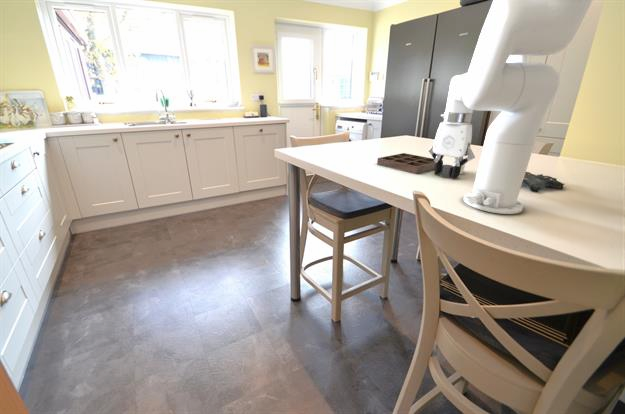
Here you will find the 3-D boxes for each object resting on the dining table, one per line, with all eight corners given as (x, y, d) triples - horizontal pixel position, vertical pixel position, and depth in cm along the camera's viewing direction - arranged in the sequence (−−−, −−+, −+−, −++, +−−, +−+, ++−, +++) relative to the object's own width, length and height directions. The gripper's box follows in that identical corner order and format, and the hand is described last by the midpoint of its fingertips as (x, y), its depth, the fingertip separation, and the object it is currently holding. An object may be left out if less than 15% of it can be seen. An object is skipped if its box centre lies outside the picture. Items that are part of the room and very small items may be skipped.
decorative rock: (519, 162, 97) (575, 168, 86) (514, 179, 99) (570, 187, 88) (494, 165, 87) (556, 172, 75) (490, 185, 88) (550, 195, 77)
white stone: (460, 174, 96) (462, 164, 95) (449, 172, 99) (451, 162, 98) (464, 173, 99) (467, 162, 97) (454, 170, 101) (456, 160, 100)
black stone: (448, 178, 92) (450, 167, 90) (437, 176, 94) (439, 165, 93) (453, 176, 94) (456, 166, 93) (443, 174, 96) (445, 164, 95)
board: (416, 174, 96) (417, 166, 95) (376, 164, 108) (377, 158, 108) (441, 167, 106) (443, 160, 105) (403, 158, 118) (403, 152, 117)
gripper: (425, 117, 91) (416, 172, 98) (481, 121, 79) (467, 184, 86) (437, 116, 96) (428, 168, 102) (492, 120, 83) (477, 179, 90)
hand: (446, 175), depth 94 cm, fingers open, 5 cm apart
